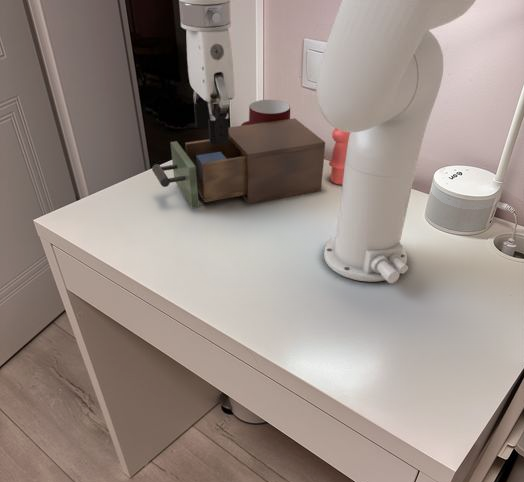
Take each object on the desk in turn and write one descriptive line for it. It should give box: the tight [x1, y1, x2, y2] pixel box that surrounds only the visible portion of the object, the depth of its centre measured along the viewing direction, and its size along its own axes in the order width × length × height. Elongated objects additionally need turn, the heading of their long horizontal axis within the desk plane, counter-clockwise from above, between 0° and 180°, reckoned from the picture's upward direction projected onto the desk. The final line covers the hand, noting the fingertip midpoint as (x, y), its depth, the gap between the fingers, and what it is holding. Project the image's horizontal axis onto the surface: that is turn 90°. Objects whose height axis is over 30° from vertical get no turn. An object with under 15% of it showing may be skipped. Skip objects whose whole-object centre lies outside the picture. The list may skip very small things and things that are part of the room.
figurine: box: [328, 128, 350, 186], centre depth 98 cm, size 5×5×15 cm
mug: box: [240, 99, 291, 126], centre depth 107 cm, size 11×8×10 cm
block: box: [196, 152, 226, 185], centre depth 96 cm, size 5×5×5 cm
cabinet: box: [228, 117, 326, 205], centre depth 99 cm, size 15×13×9 cm
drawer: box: [151, 138, 247, 209], centre depth 95 cm, size 18×11×7 cm, turn 113°
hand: (211, 134), depth 91 cm, fingers open, 7 cm apart
